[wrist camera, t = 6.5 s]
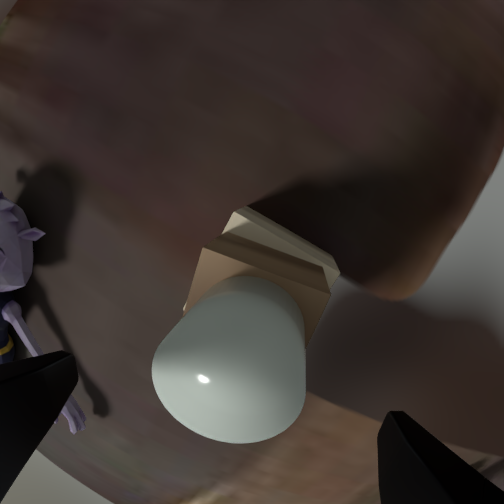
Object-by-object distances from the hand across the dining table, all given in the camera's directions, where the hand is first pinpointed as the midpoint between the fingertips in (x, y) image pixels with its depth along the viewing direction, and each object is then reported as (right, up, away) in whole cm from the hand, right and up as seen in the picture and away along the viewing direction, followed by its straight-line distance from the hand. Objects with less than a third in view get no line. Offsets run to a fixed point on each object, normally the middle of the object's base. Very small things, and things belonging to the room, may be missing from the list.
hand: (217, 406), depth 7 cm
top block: (+1, +2, +8) cm, 9 cm away
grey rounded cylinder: (+1, +1, +5) cm, 5 cm away
